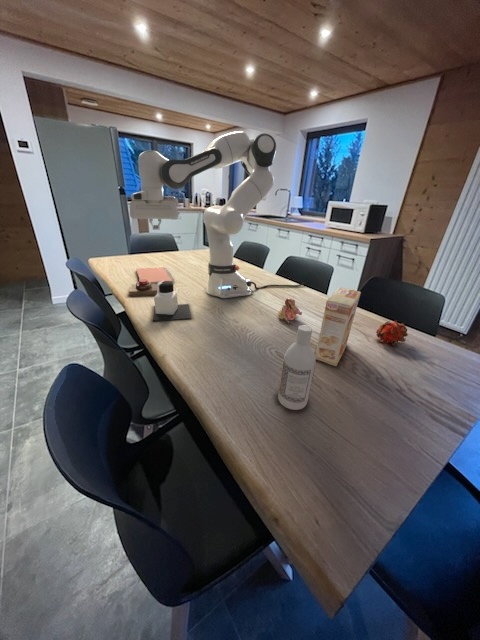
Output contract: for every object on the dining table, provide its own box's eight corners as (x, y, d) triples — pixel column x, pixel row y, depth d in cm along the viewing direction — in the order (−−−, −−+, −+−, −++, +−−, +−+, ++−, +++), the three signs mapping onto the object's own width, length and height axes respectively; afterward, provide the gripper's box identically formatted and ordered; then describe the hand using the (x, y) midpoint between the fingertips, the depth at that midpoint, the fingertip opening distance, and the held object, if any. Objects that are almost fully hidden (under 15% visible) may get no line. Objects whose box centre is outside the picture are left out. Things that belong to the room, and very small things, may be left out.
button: (148, 283, 126) (147, 278, 125) (147, 285, 123) (147, 281, 122) (139, 283, 125) (139, 279, 124) (138, 286, 122) (138, 281, 121)
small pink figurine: (276, 324, 102) (271, 302, 105) (287, 328, 110) (282, 307, 113) (298, 317, 97) (292, 294, 100) (308, 322, 105) (302, 300, 108)
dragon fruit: (402, 344, 95) (375, 353, 92) (390, 324, 98) (363, 331, 96) (419, 335, 88) (390, 344, 85) (405, 313, 91) (377, 321, 88)
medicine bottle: (178, 308, 109) (176, 280, 104) (173, 315, 103) (171, 285, 98) (161, 306, 110) (158, 279, 104) (155, 314, 103) (152, 284, 98)
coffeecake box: (336, 367, 78) (352, 306, 69) (313, 358, 81) (325, 299, 72) (347, 345, 89) (362, 291, 81) (326, 339, 93) (338, 286, 84)
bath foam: (287, 387, 69) (298, 317, 60) (311, 400, 65) (327, 328, 56) (272, 400, 64) (282, 327, 55) (297, 415, 60) (313, 339, 51)
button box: (157, 287, 131) (157, 280, 130) (157, 294, 123) (156, 286, 121) (132, 288, 128) (131, 280, 127) (129, 296, 120) (128, 287, 118)
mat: (188, 305, 114) (188, 304, 114) (191, 319, 102) (191, 318, 101) (154, 306, 110) (154, 305, 110) (153, 321, 98) (152, 320, 98)
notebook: (174, 283, 139) (174, 279, 138) (141, 286, 132) (140, 282, 131) (165, 269, 161) (165, 266, 160) (136, 271, 154) (136, 268, 153)
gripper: (177, 196, 117) (179, 228, 124) (128, 194, 112) (133, 228, 119) (178, 196, 112) (180, 230, 118) (126, 195, 107) (131, 230, 113)
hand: (156, 229), depth 118 cm, fingers closed
